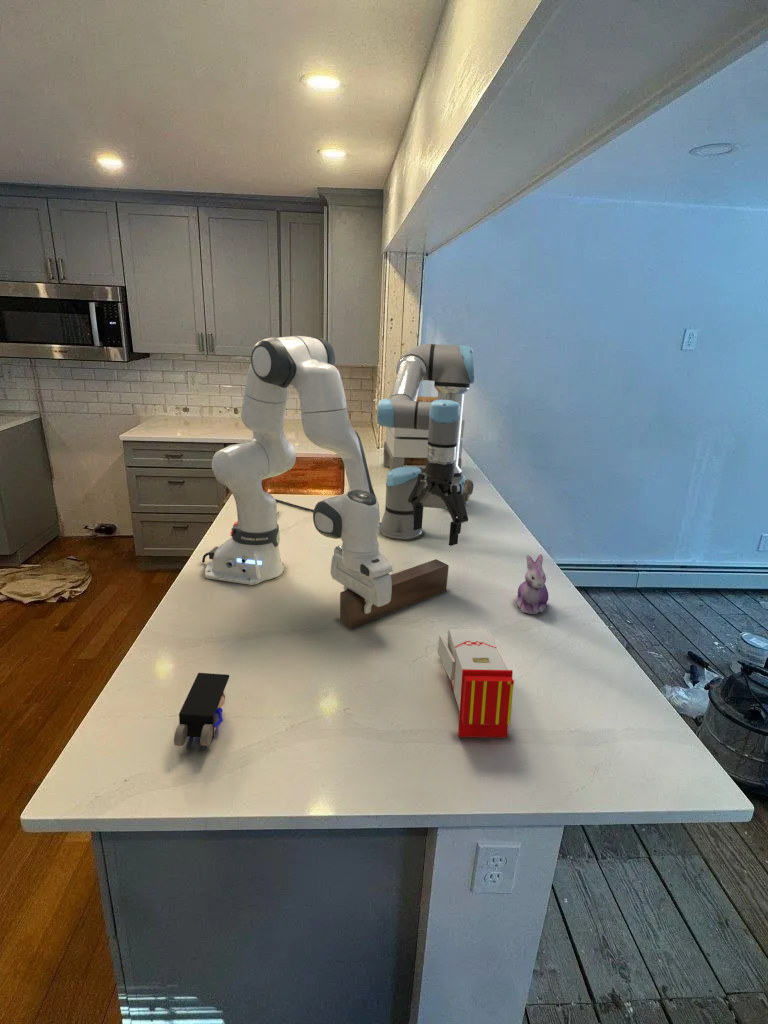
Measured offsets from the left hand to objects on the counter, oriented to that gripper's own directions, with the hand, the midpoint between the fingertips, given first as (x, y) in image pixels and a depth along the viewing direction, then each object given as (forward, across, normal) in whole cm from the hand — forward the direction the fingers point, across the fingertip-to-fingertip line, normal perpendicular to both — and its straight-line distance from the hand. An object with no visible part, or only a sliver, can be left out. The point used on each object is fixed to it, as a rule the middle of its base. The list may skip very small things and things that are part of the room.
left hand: (358, 607), depth 143 cm
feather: (+4, -77, +22) cm, 80 cm away
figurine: (+4, +23, +42) cm, 48 cm away
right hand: (-13, 0, +26) cm, 29 cm away
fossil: (+4, -48, +89) cm, 101 cm away
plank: (+4, 0, +13) cm, 13 cm away
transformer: (+4, -90, +108) cm, 141 cm away
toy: (+4, +37, +1) cm, 37 cm away
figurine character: (+4, +14, -47) cm, 49 cm away
